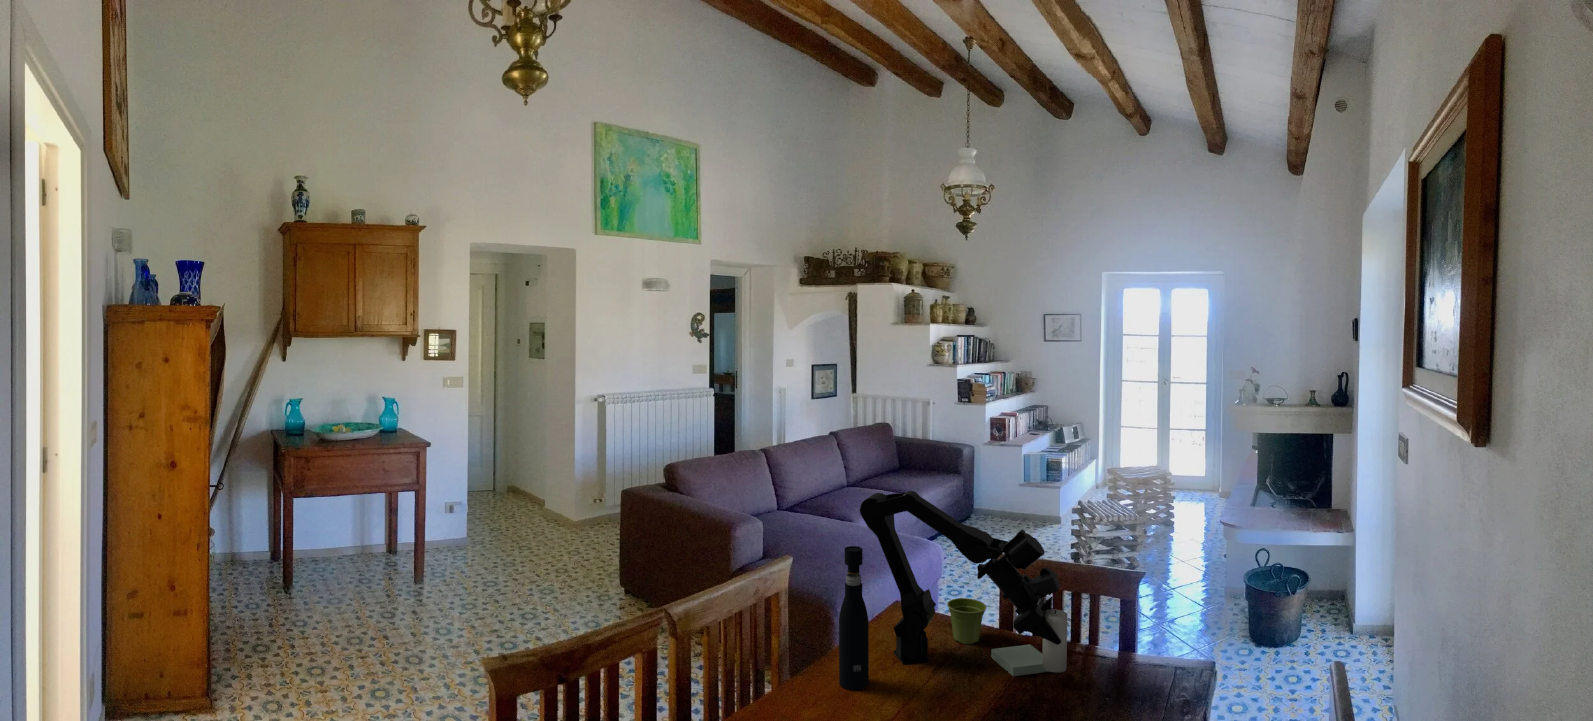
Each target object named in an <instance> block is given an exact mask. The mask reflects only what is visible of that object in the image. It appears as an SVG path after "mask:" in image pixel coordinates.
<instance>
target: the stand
mask: <svg viewBox="0 0 1593 721" xmlns="http://www.w3.org/2000/svg"><path fill="white" fill-rule="evenodd" d="M991 657H992V658H991ZM991 657H990V658H991V659H993V660H994V661H995V662H996V664H998V665H999V666H1000V667H1002V669H1004V670H1005V671H1006V672H1007V671H1008V673H1009V675H1011V676H1012V677H1018V676H1025V675H1026V676H1027V675H1033V674H1040V673H1042V674H1043V673H1048V672H1049V673H1050V671H1047V670H1045V669H1044V668H1043V667H1042V652H1041V651H1039V650H1038V649H1037V648H1036V647H1034V646H1033V645H1032V644H1023V645H1014V646H1008V647H999V648H991Z"/></svg>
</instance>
